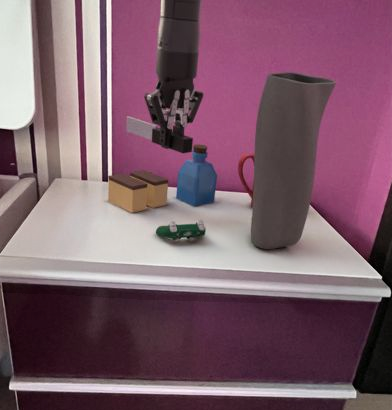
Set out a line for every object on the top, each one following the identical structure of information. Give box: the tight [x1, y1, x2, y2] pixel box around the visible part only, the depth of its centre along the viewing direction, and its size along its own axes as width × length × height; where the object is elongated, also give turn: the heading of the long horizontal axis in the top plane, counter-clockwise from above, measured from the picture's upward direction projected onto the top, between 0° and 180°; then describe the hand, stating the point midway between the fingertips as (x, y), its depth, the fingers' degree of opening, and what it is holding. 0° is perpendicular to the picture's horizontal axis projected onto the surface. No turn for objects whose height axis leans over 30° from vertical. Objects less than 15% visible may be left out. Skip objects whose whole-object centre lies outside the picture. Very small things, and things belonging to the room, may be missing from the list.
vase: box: [250, 71, 337, 250], centre depth 103 cm, size 12×12×30 cm
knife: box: [126, 115, 194, 154], centre depth 112 cm, size 18×2×3 cm, turn 45°
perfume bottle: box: [175, 143, 218, 207], centre depth 125 cm, size 6×6×12 cm
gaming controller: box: [155, 219, 207, 243], centre depth 107 cm, size 9×4×6 cm
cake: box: [107, 169, 169, 214], centre depth 121 cm, size 10×8×6 cm
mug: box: [237, 152, 255, 208], centre depth 125 cm, size 13×9×14 cm
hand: (171, 146), depth 110 cm, fingers closed on knife, 2 cm apart
